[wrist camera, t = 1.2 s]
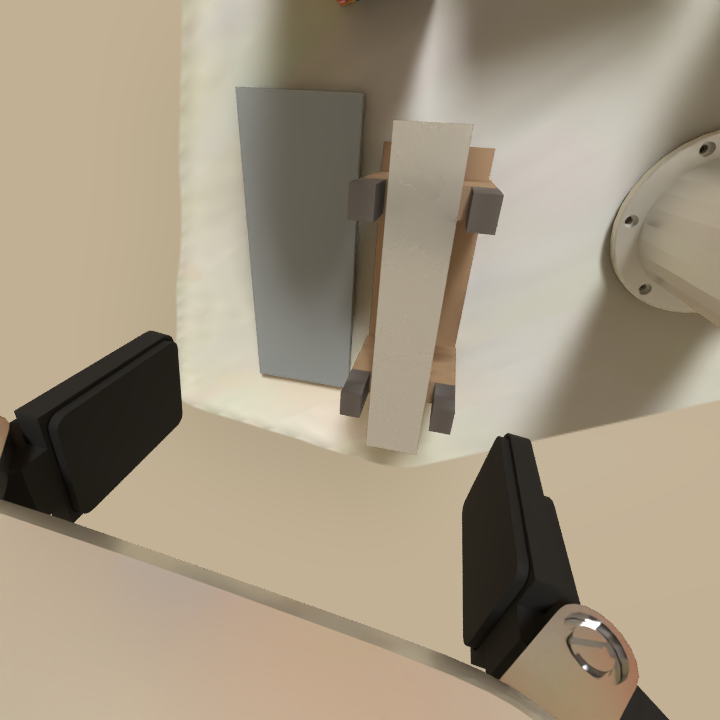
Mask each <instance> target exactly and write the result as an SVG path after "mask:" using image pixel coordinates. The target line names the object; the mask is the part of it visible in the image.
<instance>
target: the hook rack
mask: <svg viewBox="0 0 720 720" xmlns="http://www.w3.org/2000/svg"><path fill="white" fill-rule="evenodd" d="M391 144H392V142H384V148H383V161H382V171H380V172H377V173H374V174H371V175H368V176H365V177H362V178H359V179H356V180H353V181H350V182H349V190H348V216H347V220H351V221H361V222H371V223H373V222H374V221H375V220H377V219H378V226H377V240H376V253H375V266H374V279H373V292H372V305H371V318H370V332H369V335H368V336H367V338H366V340H365V343H364V345H363V347H362V349H361V351H360V353H359V355H358V357H357V359H356V361H355V364H354V366H353V368H352V370H351V372H350V374H349V376H348V378H347V380H346V382H345V385H344V387H343V389H342V391H341V399H340V414H341V415H347V416H352V417H357V418H359V417H360V414H361V412H362V409H363V406H364V404H365V401H366V398H367V395H368V393H369V392H370V391H371V379H372V368H373V356H374V344H375V332H376V320H377V309H378V297H379V285H380V273H381V261H382V250H383V238H384V226H385V214H386V203H387V191H388V179H389V167H390V155H391ZM494 151H495V149H491V148H476V147H470V148H469V153H468V159H467V165H466V171H465V176H464V182H463V188H462V194H461V199H460V205H459V211H458V217H457V222H456V228H455V234H454V240H453V245H452V251H451V257H450V263H449V269H448V274H447V280H446V286H445V292H444V297H443V303H442V309H441V315H440V320H439V326H438V332H437V338H436V343H435V349H434V355H433V361H432V366H431V372H430V378H429V384H428V389H427V395H426V401H425V402H428V403H432V407H431V416H430V426H429V431H433V432H438V433H443V434H449V435H450V432H451V428H452V423H453V419H454V414H455V366H456V348H455V343H456V339H457V334H458V329H459V324H460V319H461V314H462V309H463V304H464V299H465V294H466V289H467V284H468V279H469V275H470V270H471V265H472V260H473V255H474V250H475V245H476V240H477V235H478V233H480V234H490V235H495V232H496V227H497V223H498V218H499V214H500V210H501V205H502V201H503V196H504V195H503V194H502V192H501V191H500V190H499V189H498V188H497V187H496V186H495V185H494V184H493V183H492V181H491V180H489V176H490V171H491V166H492V161H493V156H494Z"/></svg>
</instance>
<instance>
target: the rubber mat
mask: <svg viewBox="0 0 720 720" xmlns="http://www.w3.org/2000/svg"><path fill="white" fill-rule="evenodd" d="M236 99H237V110H238V122H239V134H240V145H241V157H242V168H243V180H244V192H245V203H246V215H247V227H248V238H249V250H250V261H251V273H252V285H253V296H254V308H255V320H256V331H257V343H258V354H259V366H260V373H262V374H268V375H273V376H279V377H285V378H290V379H296V380H302V381H308V382H313V383H319V384H325V385H331V386H336V387H342V388H343V387H344V385H345V382H346V380H347V378H348V376H349V374H350V365H351V345H352V326H353V306H354V287H355V267H356V248H357V228H358V221H351V220H347V216H348V190H349V182H350V181H353V180H356V179H359V178H360V170H361V150H362V131H363V111H364V93H362V92H340V91H318V90H295V89H273V88H251V87H236Z"/></svg>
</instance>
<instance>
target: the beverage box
mask: <svg viewBox="0 0 720 720" xmlns="http://www.w3.org/2000/svg"><path fill="white" fill-rule="evenodd" d="M337 1H338V3H339V4H340V5H341V6H345V5H347V4H350V3H353V2H356V1H359V0H337Z"/></svg>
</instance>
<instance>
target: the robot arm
mask: <svg viewBox="0 0 720 720" xmlns="http://www.w3.org/2000/svg"><path fill="white" fill-rule="evenodd" d="M702 145H704V150H703V151H702V152H701V153H699V151H700V148H701V146H702ZM628 217H631V219H630V221H629V222H628V223H625V220H626V219H627V218H628ZM610 256H611V260H612V265H613V269H614V271H615V273H616V275H617V277H618V279H619V281H620V282H621V283H622V284H623V285H624V286H625V288H626V289H627V290H628V291H629V292H630V293H631V294H633V295H634V296H635V297H636V298H638V299H639V300H641V301H643V302H645V303H646V304H648V305H650V306H652V307H656V308H659V309H662V310H665V311H671V312H680V313H697V312H698V313H699V314H701V315H702V316H703V317H705V318H706V319H708V320H709V321H711V322H712V323H713V324H715V325H716V326H718V327H719V328H720V130H717V131H714V132H711V133H708V134H704V135H702V136H700V137H698V138H696V139H694V140H692V141H689V142H687V143H685V144H683V145H681V146H680V147H678V148H677V149H675V150H674V151H672V152H671V153H669V154H668V155H666V156H665V157H663V158H662V159H661V160H660V161H658V162H657V163H656V164H655V165H654V166H653V167H652V168H650V169H649V170H648V171H647V172H646V173H645V174H644V175H643V176H642V177H641V179H640V180H639V181H638V182H637V183H636V184H635V186H634V187H633V188H632V189H631V191H630V192H629V194H628V195H627V197H626V199H625V200H624V202H623V203H622V205H621V207H620V209H619V212H618V214H617V216H616V219H615V221H614V224H613V229H612V234H611V238H610ZM642 285H644V286H643V287H642V288H641V289H639V288H640V287H641V286H642ZM14 413H15V415H16V418H17V419H15V420H13V421H12V422H10V423H9V422H8V421H7V420H6V418H4V417H1V416H0V720H669V719H668V718H667V717H666V716H665V715H664V714H663V713H662V712H661V710H660V709H659V708H658V707H657V706H656V705H655V704H654V703H653V702H652V701H651V700H650V699H649V697H648V696H647V695H646V694H645V693H644V692H643V691H642V690H641V689H640V688H639V686H638V685H637V682H638V678H639V675H638V674H639V673H638V667H637V662H636V659H635V657H634V654H633V652H632V649H631V648H630V646H629V645H628V643H627V641H626V640H625V638H624V637H623V635H622V634H621V633H620V632H619V631H618V630H617V628H616V627H615V626H614V625H613V624H612V623H611V622H610V621H609V620H607V619H606V618H605V617H604V616H602V615H601V614H600V613H598V612H596V611H595V610H593V609H591V608H589V607H587V606H583V605H580V601H579V597H578V594H577V590H576V586H575V582H574V578H573V575H572V571H571V567H570V563H569V559H568V556H567V552H566V548H565V545H564V541H563V537H562V533H561V529H560V526H559V522H558V518H557V514H556V510H555V506H554V504H553V501H552V500H551V499H550V498H549V497H546V496H544V494H543V490H542V487H541V482H540V477H539V473H538V469H537V465H536V461H535V457H534V453H533V449H532V444H531V441H530V440H529V439H527V438H523V437H520V436H516V435H513V434H509V433H507V434H506V435H505V436H504V437H500V436H498V437H497V438H496V439H495V441H494V443H493V445H492V447H491V449H490V451H489V454H488V455H487V458H486V460H485V462H484V464H483V466H482V468H481V470H480V472H479V474H478V476H477V478H476V480H475V482H474V484H473V486H472V488H471V490H470V492H469V494H468V496H467V498H466V500H465V502H464V506H463V511H462V549H463V550H462V552H463V553H462V554H463V639H464V644H465V645H466V646H469V647H471V664H473V665H476V666H479V667H481V668H485V669H486V673H485V672H483V671H481V670H479V669H477V668H474V667H472V666H470V665H467V664H465V663H463V662H460V661H458V660H456V659H453V658H451V657H448V656H446V655H444V654H441V653H439V652H436V651H433V650H430V649H428V648H425V647H423V646H420V645H417V644H415V643H412V642H409V641H407V640H404V639H401V638H399V637H396V636H393V635H391V634H388V633H385V632H383V631H380V630H378V629H375V628H372V627H369V626H366V625H364V624H361V623H358V622H355V621H352V620H349V619H347V618H344V617H341V616H338V615H336V614H333V613H330V612H327V611H324V610H321V609H319V608H316V607H313V606H310V605H307V604H305V603H302V602H299V601H296V600H293V599H290V598H288V597H285V596H282V595H279V594H276V593H274V592H271V591H268V590H265V589H262V588H259V587H257V586H254V585H251V584H248V583H245V582H242V581H239V580H237V579H234V578H231V577H228V576H225V575H222V574H219V573H216V572H214V571H211V570H208V569H205V568H202V567H199V566H196V565H193V564H190V563H188V562H185V561H182V560H179V559H176V558H173V557H171V556H168V555H165V554H162V553H159V552H156V551H153V550H151V549H148V548H145V547H142V546H139V545H136V544H133V543H130V542H127V541H124V540H121V539H118V538H116V537H113V536H110V535H107V534H104V533H101V532H98V531H95V530H92V529H89V528H86V527H83V526H80V525H77V524H75V523H74V522H75V521H76V520H77V519H78V518H79V517H80V516H81V515H82V514H83V513H84V514H85V513H89V512H90V511H92V510H93V509H94V508H95V507H96V506H97V505H98V504H99V503H100V502H101V501H102V500H103V499H104V498H105V497H106V496H107V495H108V494H109V493H110V492H111V491H112V490H113V489H114V488H115V487H116V486H117V485H118V484H119V483H120V482H121V481H122V480H123V479H124V478H125V477H126V476H127V475H128V474H129V473H130V472H131V471H132V470H133V469H134V468H135V467H136V466H137V465H138V464H139V463H140V462H141V461H142V460H143V459H144V458H145V457H146V456H147V455H148V454H149V453H150V452H151V451H152V450H153V449H154V448H155V447H156V446H157V445H158V444H159V443H160V442H161V441H162V440H163V439H164V438H165V437H166V436H167V435H168V434H169V433H170V432H171V431H172V430H173V429H174V428H175V427H176V426H177V425H178V424H179V422H180V421H181V418H182V400H181V387H180V373H179V360H178V347H177V344H176V343H175V342H174V341H173V339H172V337H170V336H169V335H165V334H162V333H158V332H155V331H148V332H146V333H144V334H142V335H141V336H139V337H137V338H136V339H134V340H132V341H131V342H129V343H127V344H126V345H124V346H122V347H121V348H119V349H117V350H115V351H114V352H112V353H110V354H109V355H107V356H105V357H104V358H102V359H100V360H99V361H97V362H95V363H94V364H92V365H90V366H89V367H87V368H85V369H84V370H82V371H80V372H79V373H77V374H75V375H74V376H72V377H70V378H69V379H67V380H65V381H64V382H62V383H60V384H59V385H57V386H55V387H54V388H52V389H50V390H49V391H47V392H45V393H44V394H42V395H40V396H38V397H37V398H35V399H34V400H32V401H30V402H28V403H27V404H25V405H24V406H22V407H20V408H19V409H17V410H15V411H14ZM50 514H52V516H51V515H50Z"/></svg>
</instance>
